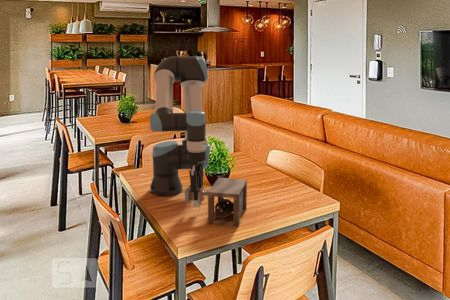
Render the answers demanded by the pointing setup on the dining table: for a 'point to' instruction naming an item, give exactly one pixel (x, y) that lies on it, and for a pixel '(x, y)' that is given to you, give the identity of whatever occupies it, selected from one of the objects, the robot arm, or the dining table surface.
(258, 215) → the dining table surface
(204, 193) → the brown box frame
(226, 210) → the pottery mug
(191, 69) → the robot arm
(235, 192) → the walnut stool
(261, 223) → the dining table surface
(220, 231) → the dining table surface
